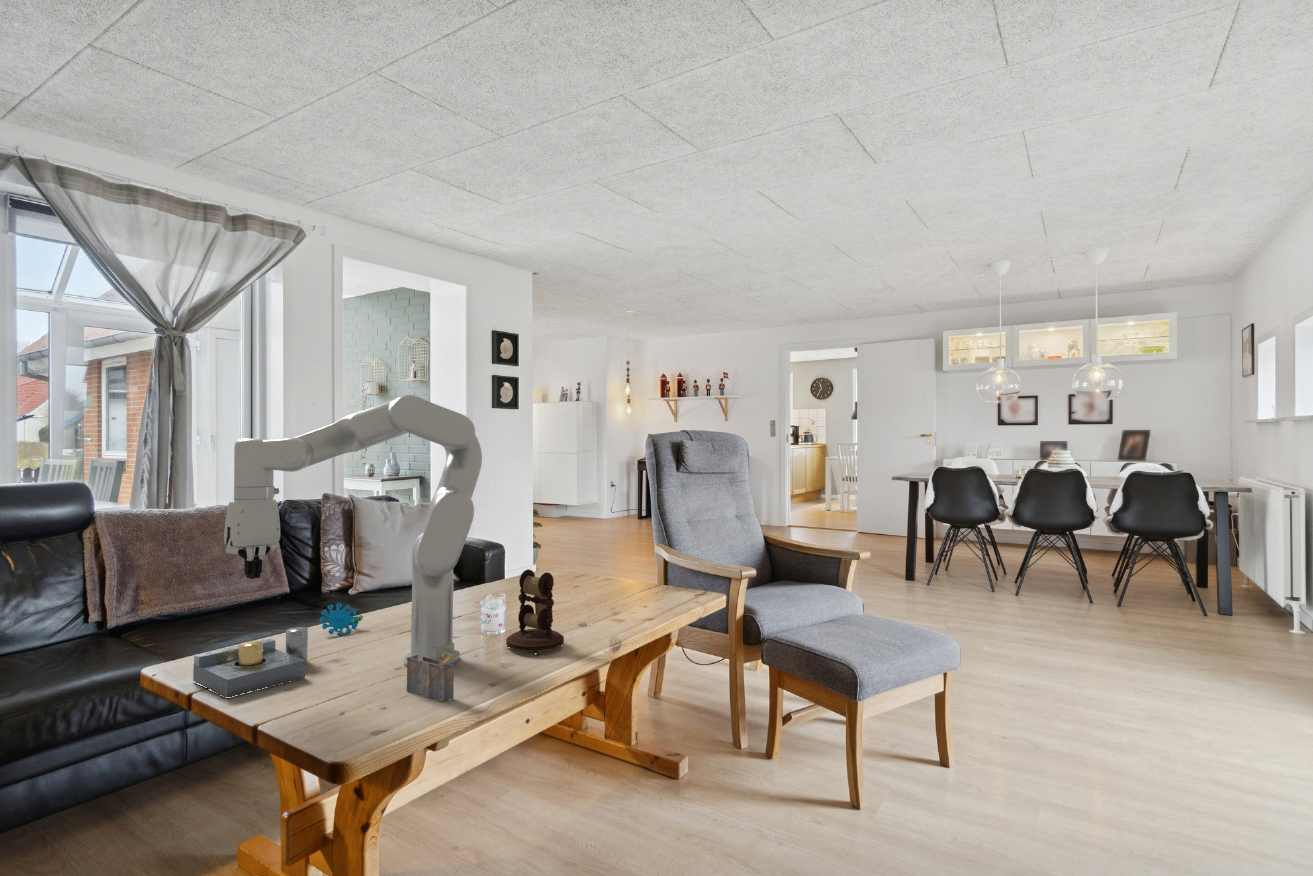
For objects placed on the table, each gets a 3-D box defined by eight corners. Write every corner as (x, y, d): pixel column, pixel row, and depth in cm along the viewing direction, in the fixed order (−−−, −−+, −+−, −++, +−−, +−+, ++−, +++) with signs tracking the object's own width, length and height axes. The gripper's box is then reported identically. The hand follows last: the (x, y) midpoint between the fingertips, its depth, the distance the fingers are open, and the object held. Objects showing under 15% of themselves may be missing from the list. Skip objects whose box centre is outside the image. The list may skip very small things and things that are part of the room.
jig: (304, 678, 153) (305, 651, 153) (227, 699, 140) (227, 669, 140) (269, 663, 162) (270, 638, 162) (193, 682, 149) (193, 655, 149)
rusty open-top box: (455, 700, 143) (455, 653, 143) (443, 704, 140) (444, 657, 140) (418, 689, 148) (419, 644, 148) (406, 693, 146) (407, 647, 146)
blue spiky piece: (320, 633, 182) (320, 601, 189) (315, 645, 185) (315, 613, 192) (364, 633, 189) (362, 602, 195) (358, 644, 192) (357, 613, 198)
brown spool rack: (575, 646, 180) (576, 570, 180) (535, 660, 168) (537, 578, 168) (534, 636, 188) (535, 564, 188) (493, 649, 176) (495, 571, 176)
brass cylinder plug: (256, 675, 154) (256, 639, 154) (266, 679, 151) (266, 643, 151) (234, 681, 150) (234, 644, 150) (243, 685, 148) (244, 648, 148)
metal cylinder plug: (310, 663, 163) (311, 629, 163) (291, 667, 159) (292, 633, 160) (301, 659, 166) (301, 626, 166) (281, 664, 162) (282, 630, 162)
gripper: (279, 491, 159) (279, 570, 159) (208, 495, 147) (207, 581, 147) (296, 493, 155) (295, 574, 155) (224, 497, 143) (223, 585, 143)
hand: (253, 577), depth 151 cm, fingers closed
